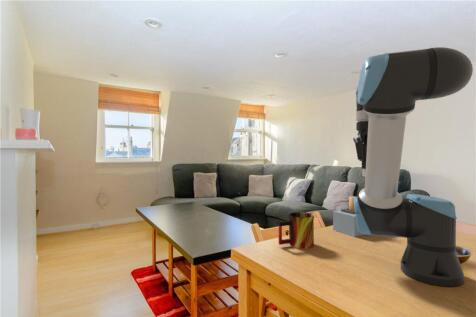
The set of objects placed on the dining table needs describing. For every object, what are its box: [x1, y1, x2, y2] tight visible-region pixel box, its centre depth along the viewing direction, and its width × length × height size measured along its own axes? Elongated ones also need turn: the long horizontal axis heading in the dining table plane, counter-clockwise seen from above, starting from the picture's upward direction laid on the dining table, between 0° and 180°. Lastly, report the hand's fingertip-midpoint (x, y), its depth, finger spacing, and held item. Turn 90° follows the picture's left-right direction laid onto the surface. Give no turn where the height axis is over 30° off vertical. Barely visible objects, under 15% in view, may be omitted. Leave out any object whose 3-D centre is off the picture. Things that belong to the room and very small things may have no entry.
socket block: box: [332, 207, 367, 238], centre depth 122 cm, size 14×12×10 cm
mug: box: [278, 211, 315, 250], centre depth 103 cm, size 10×14×12 cm
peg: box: [348, 196, 355, 211], centre depth 122 cm, size 4×4×10 cm
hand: (366, 176), depth 112 cm, fingers closed
